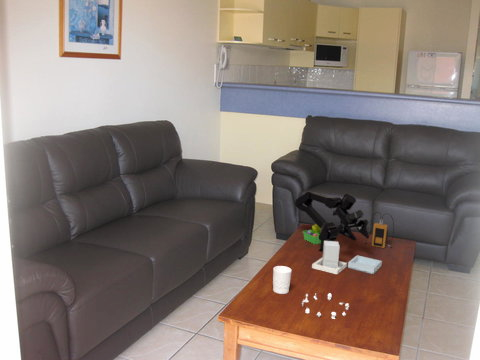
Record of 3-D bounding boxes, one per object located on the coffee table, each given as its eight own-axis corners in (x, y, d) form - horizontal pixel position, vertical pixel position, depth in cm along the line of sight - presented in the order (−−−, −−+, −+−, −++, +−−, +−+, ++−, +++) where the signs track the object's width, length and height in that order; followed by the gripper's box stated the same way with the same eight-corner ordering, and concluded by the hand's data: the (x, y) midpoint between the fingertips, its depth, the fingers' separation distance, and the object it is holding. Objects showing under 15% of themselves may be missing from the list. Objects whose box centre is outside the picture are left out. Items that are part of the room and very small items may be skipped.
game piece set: (315, 294, 229) (316, 286, 228) (357, 309, 217) (358, 300, 216) (290, 308, 214) (291, 299, 213) (334, 325, 202) (334, 315, 201)
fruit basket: (301, 239, 303) (302, 220, 301) (313, 237, 308) (315, 219, 305) (313, 245, 294) (315, 225, 291) (325, 243, 298) (327, 224, 296)
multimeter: (393, 244, 303) (398, 211, 299) (391, 249, 294) (395, 215, 290) (368, 240, 309) (371, 207, 305) (364, 244, 300) (368, 210, 296)
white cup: (291, 289, 232) (293, 267, 230) (287, 296, 225) (289, 273, 223) (274, 286, 235) (276, 264, 233) (269, 292, 227) (271, 270, 225)
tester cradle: (311, 268, 259) (312, 263, 258) (322, 260, 270) (322, 255, 269) (337, 274, 253) (337, 269, 252) (346, 266, 263) (347, 261, 263)
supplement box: (336, 265, 265) (338, 241, 262) (337, 270, 257) (340, 246, 255) (321, 264, 265) (323, 240, 263) (322, 269, 258) (324, 244, 255)
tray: (347, 267, 262) (348, 262, 261) (356, 260, 273) (357, 255, 272) (373, 274, 256) (374, 268, 255) (381, 266, 267) (382, 260, 266)
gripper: (339, 207, 263) (357, 230, 254) (364, 203, 274) (382, 226, 265) (328, 222, 270) (346, 245, 261) (354, 218, 280) (371, 240, 272)
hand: (362, 239), depth 264 cm, fingers open, 9 cm apart
